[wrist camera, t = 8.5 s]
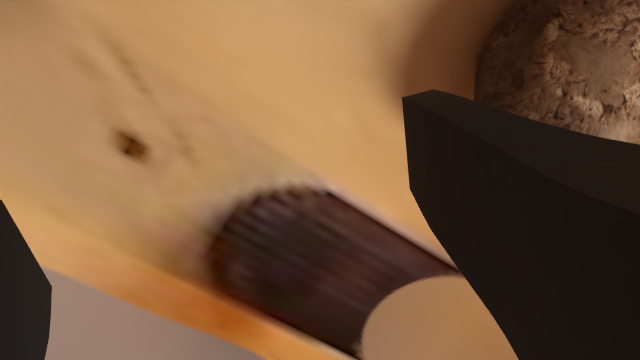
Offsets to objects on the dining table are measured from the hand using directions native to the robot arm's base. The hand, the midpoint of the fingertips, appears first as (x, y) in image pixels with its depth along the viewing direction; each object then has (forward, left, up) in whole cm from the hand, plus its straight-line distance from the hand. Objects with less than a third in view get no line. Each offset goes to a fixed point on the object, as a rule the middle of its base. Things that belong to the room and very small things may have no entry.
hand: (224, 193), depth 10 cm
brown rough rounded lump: (+13, -4, -11) cm, 17 cm away
